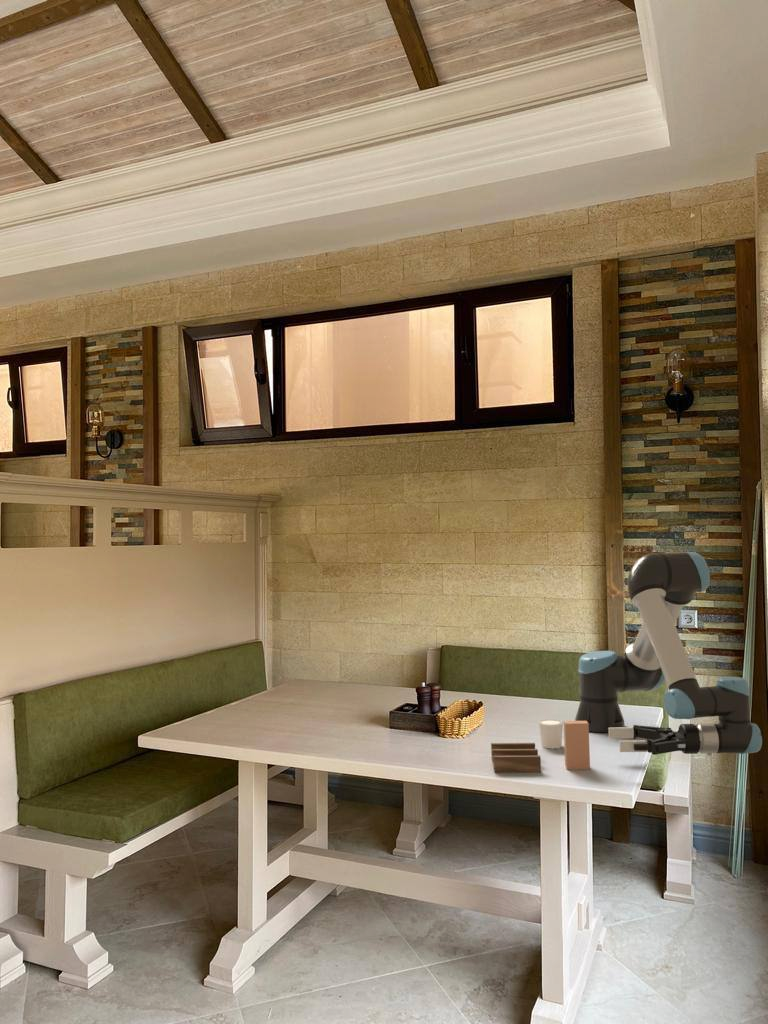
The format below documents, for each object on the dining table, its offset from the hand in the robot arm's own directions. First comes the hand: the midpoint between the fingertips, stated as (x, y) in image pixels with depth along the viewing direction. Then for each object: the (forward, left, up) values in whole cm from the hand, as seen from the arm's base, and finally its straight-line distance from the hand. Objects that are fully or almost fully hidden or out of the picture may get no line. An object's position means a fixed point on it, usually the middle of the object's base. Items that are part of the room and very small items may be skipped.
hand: (614, 739), depth 206 cm
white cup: (-21, -14, -8) cm, 26 cm away
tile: (0, -10, -7) cm, 12 cm away
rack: (-3, -26, -7) cm, 27 cm away
